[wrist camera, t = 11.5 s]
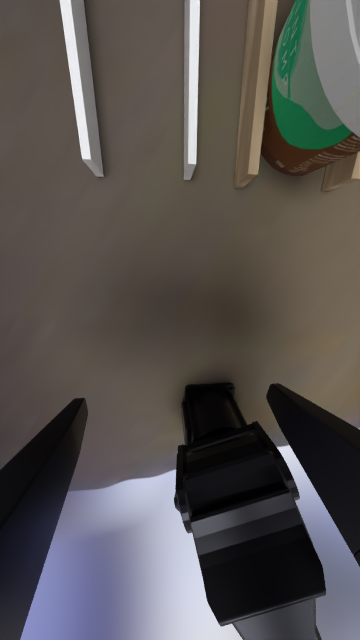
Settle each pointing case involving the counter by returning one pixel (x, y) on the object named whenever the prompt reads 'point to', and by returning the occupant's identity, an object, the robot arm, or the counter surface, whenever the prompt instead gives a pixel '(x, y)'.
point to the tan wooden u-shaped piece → (255, 102)
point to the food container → (314, 88)
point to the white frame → (85, 91)
